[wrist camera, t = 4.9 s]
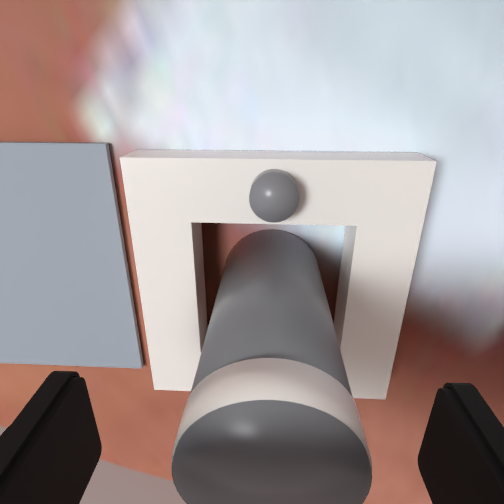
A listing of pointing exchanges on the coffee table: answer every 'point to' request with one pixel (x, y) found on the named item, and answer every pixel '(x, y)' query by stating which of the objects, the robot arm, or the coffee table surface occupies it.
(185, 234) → the frame
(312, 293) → the cartridge
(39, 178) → the mat
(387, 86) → the coffee table surface
